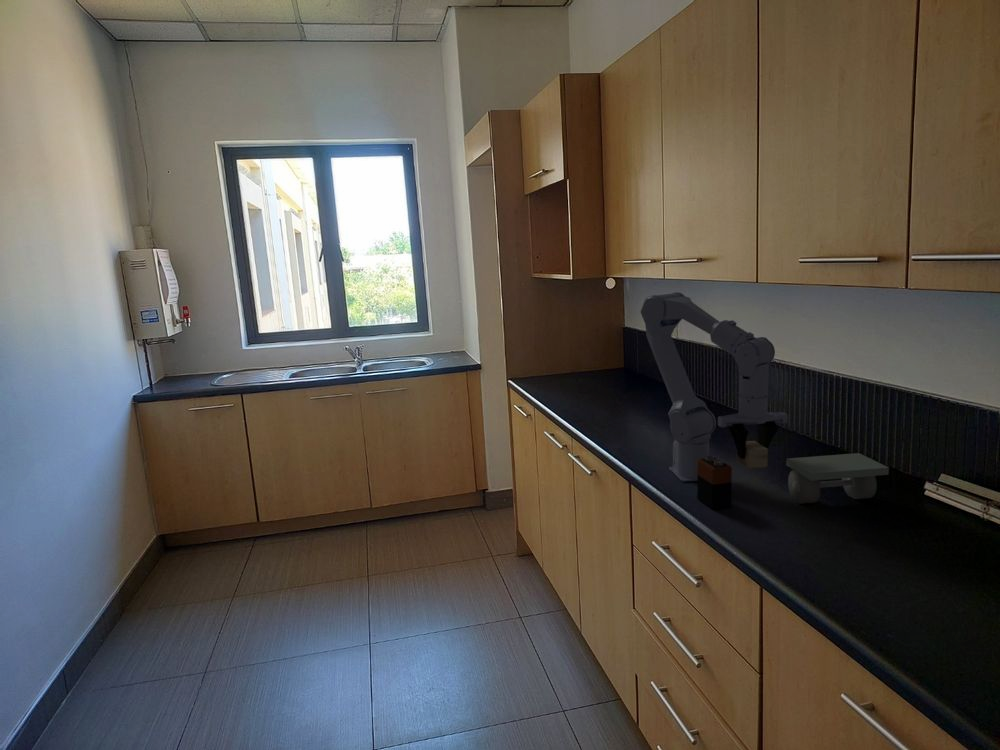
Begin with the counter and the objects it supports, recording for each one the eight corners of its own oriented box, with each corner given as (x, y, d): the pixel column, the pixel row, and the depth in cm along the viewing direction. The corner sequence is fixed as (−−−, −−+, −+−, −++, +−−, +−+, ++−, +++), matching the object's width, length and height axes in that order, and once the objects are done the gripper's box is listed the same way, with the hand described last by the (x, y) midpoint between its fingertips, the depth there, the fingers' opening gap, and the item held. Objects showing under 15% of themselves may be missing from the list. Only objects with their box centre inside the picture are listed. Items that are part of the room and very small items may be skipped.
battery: (713, 510, 132) (713, 464, 130) (696, 499, 138) (696, 454, 136) (732, 508, 133) (733, 462, 131) (714, 496, 139) (715, 452, 137)
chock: (736, 459, 141) (737, 442, 141) (754, 458, 142) (754, 440, 141) (749, 468, 136) (749, 450, 135) (767, 467, 136) (767, 448, 135)
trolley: (785, 496, 137) (786, 458, 136) (856, 490, 138) (858, 453, 137) (809, 514, 128) (811, 473, 126) (886, 507, 129) (888, 467, 127)
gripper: (728, 401, 131) (726, 464, 134) (796, 397, 132) (793, 459, 135) (714, 394, 138) (713, 454, 141) (778, 390, 139) (776, 449, 142)
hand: (751, 456), depth 138 cm, fingers closed on chock, 4 cm apart
